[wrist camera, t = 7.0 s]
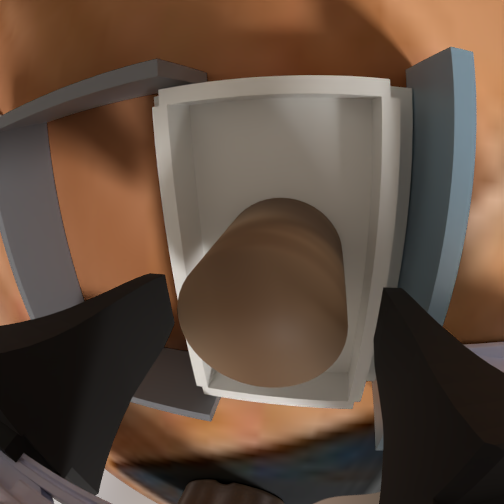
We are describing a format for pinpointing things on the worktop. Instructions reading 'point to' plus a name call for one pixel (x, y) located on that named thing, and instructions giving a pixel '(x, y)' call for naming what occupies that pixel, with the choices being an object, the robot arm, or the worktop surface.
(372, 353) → the tray
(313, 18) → the worktop surface
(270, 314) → the beige cylinder
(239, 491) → the plant pot
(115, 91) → the dock
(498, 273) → the worktop surface
